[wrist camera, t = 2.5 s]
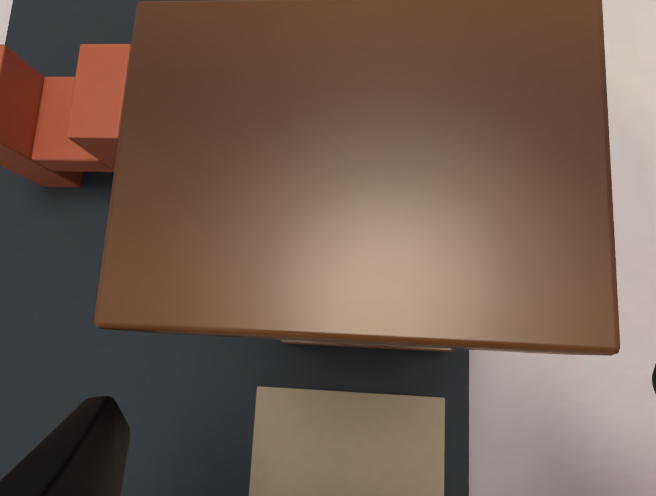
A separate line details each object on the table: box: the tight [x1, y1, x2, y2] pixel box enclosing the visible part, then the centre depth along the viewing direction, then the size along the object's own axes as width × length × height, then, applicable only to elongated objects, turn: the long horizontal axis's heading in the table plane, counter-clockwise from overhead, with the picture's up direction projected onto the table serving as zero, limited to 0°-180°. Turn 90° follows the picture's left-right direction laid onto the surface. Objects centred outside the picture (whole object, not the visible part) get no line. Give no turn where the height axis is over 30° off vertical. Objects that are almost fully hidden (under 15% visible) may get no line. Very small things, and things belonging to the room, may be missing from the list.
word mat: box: [0, 0, 469, 496], centre depth 21 cm, size 40×19×1 cm, turn 177°
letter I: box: [94, 0, 620, 355], centre depth 12 cm, size 4×6×13 cm
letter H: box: [0, 44, 131, 188], centre depth 18 cm, size 3×6×5 cm, turn 87°
